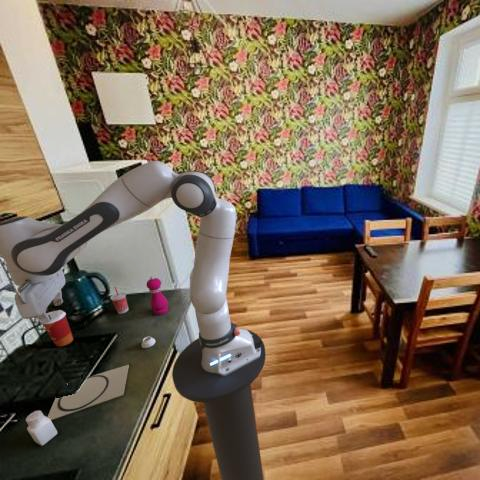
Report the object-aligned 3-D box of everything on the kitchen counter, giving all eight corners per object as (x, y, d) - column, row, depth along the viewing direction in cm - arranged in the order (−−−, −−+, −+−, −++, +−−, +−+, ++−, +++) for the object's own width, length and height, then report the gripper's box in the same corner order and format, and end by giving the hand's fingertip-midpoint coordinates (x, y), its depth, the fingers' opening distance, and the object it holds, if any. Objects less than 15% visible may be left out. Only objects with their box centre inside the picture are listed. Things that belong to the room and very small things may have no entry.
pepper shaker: (51, 428, 80) (38, 406, 77) (59, 433, 79) (46, 411, 75) (34, 441, 77) (20, 419, 73) (42, 447, 76) (28, 425, 72)
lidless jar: (153, 338, 115) (140, 344, 112) (152, 332, 114) (138, 338, 111) (157, 344, 112) (143, 350, 109) (155, 338, 111) (141, 345, 108)
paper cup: (56, 339, 115) (43, 312, 109) (78, 333, 118) (67, 307, 113) (49, 351, 108) (35, 323, 103) (73, 344, 112) (61, 318, 106)
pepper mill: (158, 317, 128) (148, 281, 120) (150, 312, 131) (139, 277, 124) (172, 309, 134) (163, 275, 126) (164, 305, 137) (155, 271, 129)
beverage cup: (121, 306, 136) (113, 283, 130) (133, 307, 135) (125, 283, 130) (112, 314, 130) (103, 290, 125) (124, 314, 130) (116, 290, 124)
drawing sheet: (129, 365, 102) (128, 364, 102) (123, 395, 90) (123, 393, 90) (61, 386, 93) (60, 385, 93) (45, 422, 82) (45, 421, 82)
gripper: (32, 287, 69) (53, 330, 74) (61, 257, 86) (77, 293, 91) (-2, 293, 66) (22, 337, 71) (35, 261, 83) (53, 298, 88)
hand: (53, 312), depth 81 cm, fingers open, 8 cm apart
